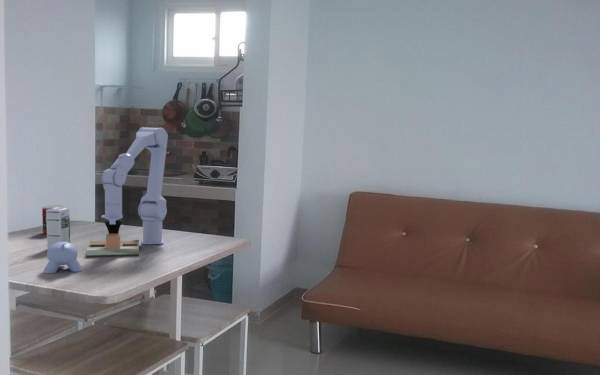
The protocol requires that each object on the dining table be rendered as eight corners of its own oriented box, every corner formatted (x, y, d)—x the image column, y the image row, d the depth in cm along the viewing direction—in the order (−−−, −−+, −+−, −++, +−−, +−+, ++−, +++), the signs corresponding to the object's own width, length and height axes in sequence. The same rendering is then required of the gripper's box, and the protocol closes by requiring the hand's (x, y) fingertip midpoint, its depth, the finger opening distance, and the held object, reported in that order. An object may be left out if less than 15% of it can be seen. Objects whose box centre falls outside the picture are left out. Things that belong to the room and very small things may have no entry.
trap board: (90, 247, 220) (90, 240, 220) (138, 246, 225) (138, 239, 224) (86, 257, 205) (86, 249, 205) (138, 255, 209) (138, 248, 209)
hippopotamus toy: (80, 262, 197) (80, 233, 196) (82, 273, 184) (82, 242, 183) (44, 264, 193) (44, 235, 192) (44, 276, 179) (43, 244, 178)
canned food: (38, 233, 244) (38, 206, 242) (52, 230, 251) (51, 204, 250) (54, 235, 241) (54, 208, 240) (67, 232, 249) (67, 205, 248)
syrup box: (61, 250, 215) (60, 209, 213) (46, 249, 216) (45, 208, 214) (70, 247, 220) (70, 207, 219) (56, 246, 221) (55, 206, 220)
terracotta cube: (106, 246, 211) (106, 233, 211) (120, 246, 212) (120, 233, 212) (106, 249, 207) (106, 236, 206) (119, 248, 208) (119, 235, 207)
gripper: (102, 200, 217) (103, 237, 219) (100, 206, 203) (100, 245, 205) (123, 200, 219) (123, 237, 221) (121, 206, 205) (121, 245, 207)
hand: (113, 241), depth 213 cm, fingers closed
